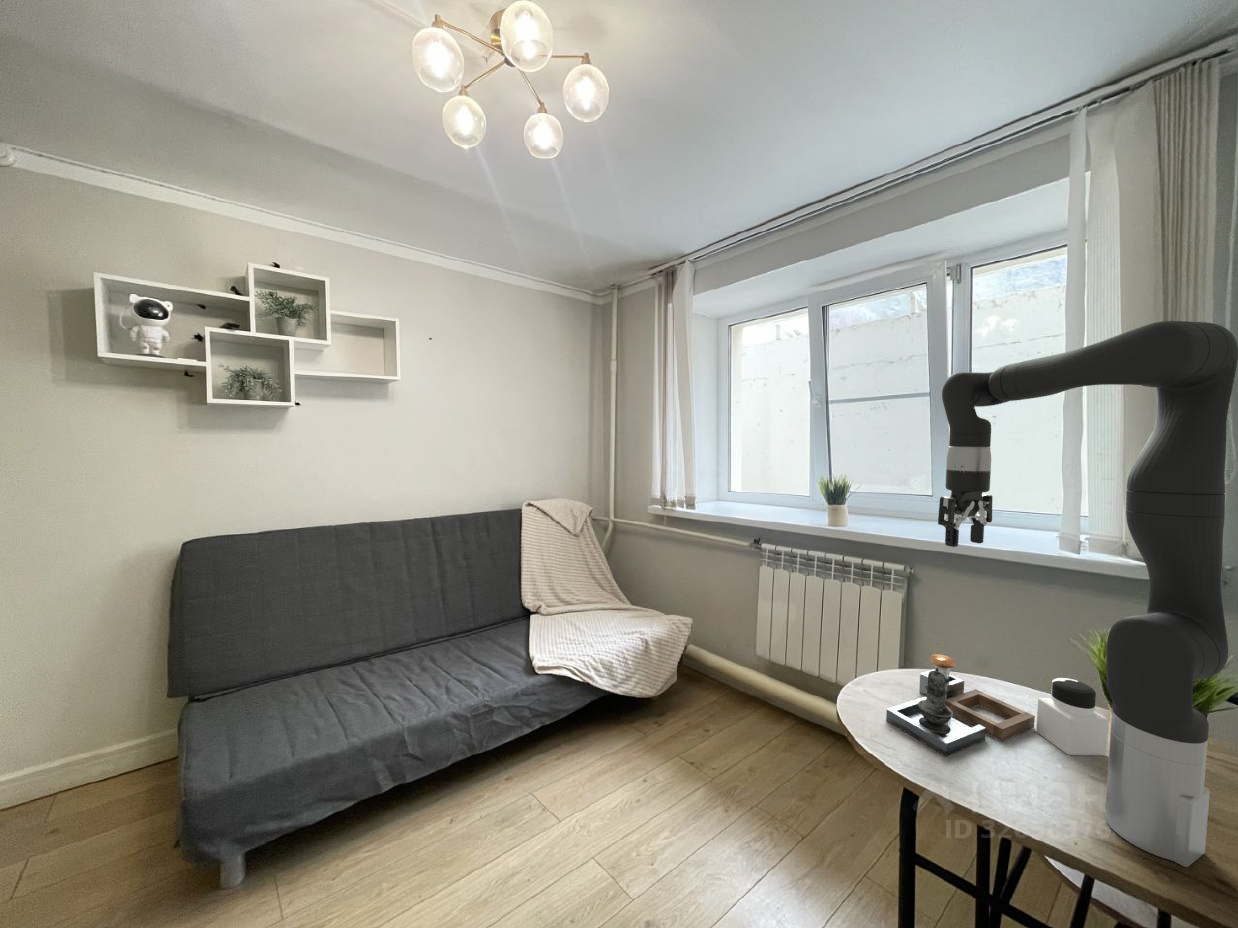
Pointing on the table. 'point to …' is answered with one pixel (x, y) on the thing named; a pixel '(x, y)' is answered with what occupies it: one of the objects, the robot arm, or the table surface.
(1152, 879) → the table surface
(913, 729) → the tray
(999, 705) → the socket collar
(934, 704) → the dark grey chess piece
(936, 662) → the copper mushroom knob
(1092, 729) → the medicine bottle
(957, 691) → the housing
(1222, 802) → the table surface
